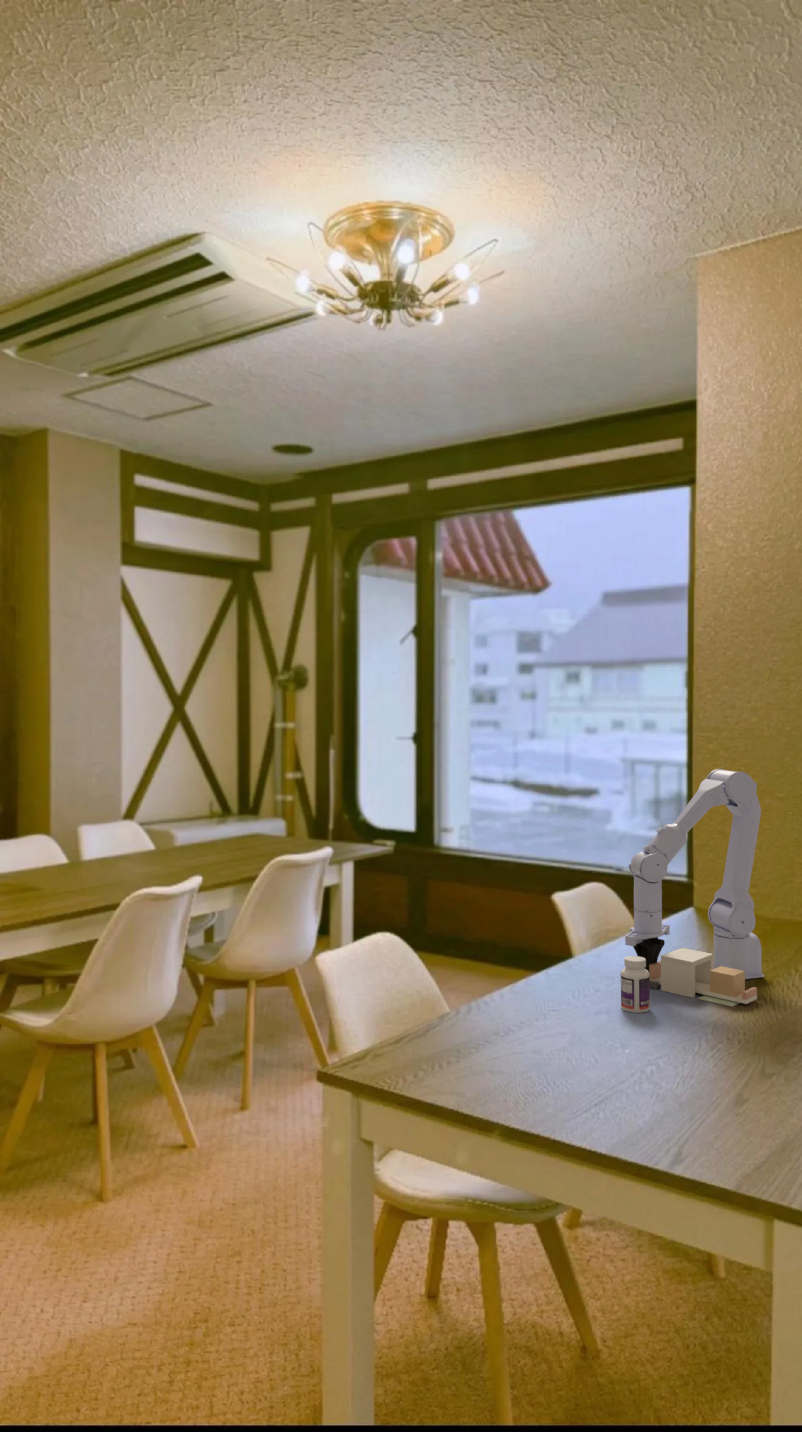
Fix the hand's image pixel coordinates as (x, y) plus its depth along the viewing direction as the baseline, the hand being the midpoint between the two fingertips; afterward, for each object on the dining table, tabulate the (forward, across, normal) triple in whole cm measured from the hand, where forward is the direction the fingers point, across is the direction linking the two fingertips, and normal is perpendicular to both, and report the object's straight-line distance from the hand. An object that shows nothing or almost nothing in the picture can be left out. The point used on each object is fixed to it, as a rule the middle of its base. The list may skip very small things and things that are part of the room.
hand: (648, 973), depth 201 cm
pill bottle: (+2, +18, +8) cm, 20 cm away
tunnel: (+1, 0, +9) cm, 9 cm away
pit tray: (+1, 0, +2) cm, 3 cm away
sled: (+1, 0, +12) cm, 12 cm away
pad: (+1, 0, +17) cm, 17 cm away
